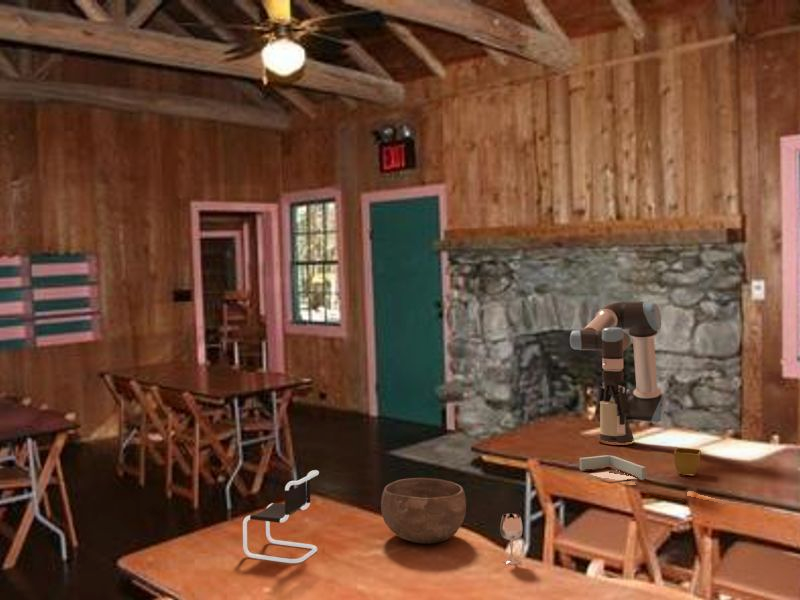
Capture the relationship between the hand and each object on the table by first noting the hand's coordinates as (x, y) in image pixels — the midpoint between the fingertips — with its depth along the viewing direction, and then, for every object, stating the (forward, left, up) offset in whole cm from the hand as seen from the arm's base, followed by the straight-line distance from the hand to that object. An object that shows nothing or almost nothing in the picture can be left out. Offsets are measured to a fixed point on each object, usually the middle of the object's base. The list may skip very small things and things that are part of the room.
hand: (612, 430), depth 292 cm
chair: (+130, +33, -18) cm, 135 cm away
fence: (-2, -4, -17) cm, 18 cm away
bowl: (+90, +37, -18) cm, 99 cm away
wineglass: (+75, +62, -18) cm, 99 cm away
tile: (0, 0, -17) cm, 17 cm away
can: (0, 0, -1) cm, 1 cm away
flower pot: (-28, +7, -18) cm, 34 cm away
